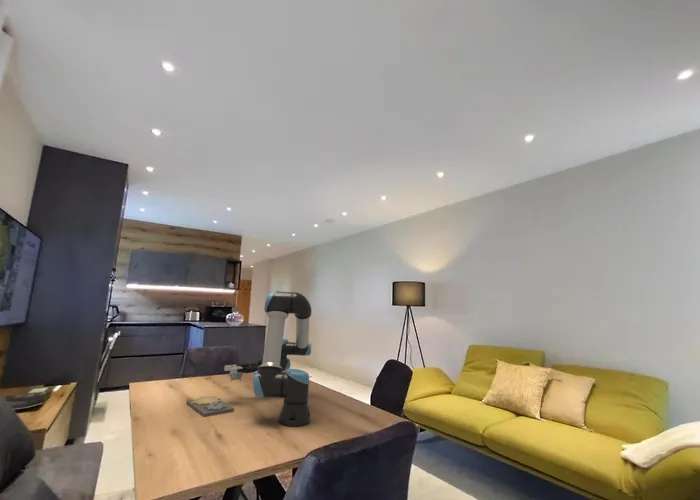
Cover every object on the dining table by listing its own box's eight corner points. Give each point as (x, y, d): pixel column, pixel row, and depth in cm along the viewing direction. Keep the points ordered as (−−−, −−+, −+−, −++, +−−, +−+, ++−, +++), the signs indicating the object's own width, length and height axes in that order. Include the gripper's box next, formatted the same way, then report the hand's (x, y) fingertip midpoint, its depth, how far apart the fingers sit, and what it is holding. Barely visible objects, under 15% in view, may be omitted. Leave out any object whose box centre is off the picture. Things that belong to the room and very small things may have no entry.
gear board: (233, 411, 168) (234, 401, 169) (203, 416, 158) (204, 405, 159) (214, 399, 187) (215, 390, 188) (186, 403, 177) (187, 393, 178)
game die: (236, 388, 182) (240, 375, 178) (223, 381, 182) (226, 368, 178) (245, 377, 190) (249, 364, 186) (232, 370, 190) (235, 358, 187)
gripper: (273, 376, 188) (234, 380, 174) (257, 369, 204) (220, 373, 189) (274, 362, 189) (236, 365, 175) (258, 357, 205) (221, 359, 190)
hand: (227, 369), depth 182 cm, fingers closed on game die, 8 cm apart
